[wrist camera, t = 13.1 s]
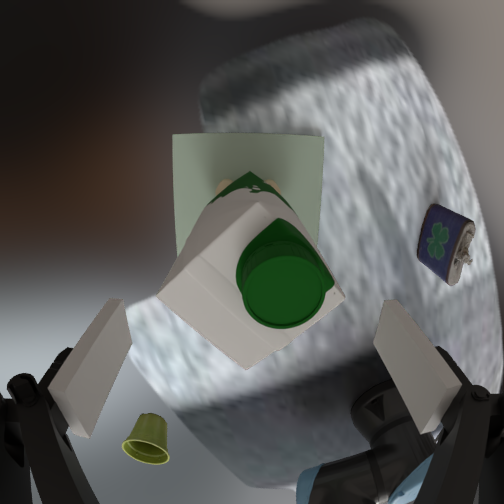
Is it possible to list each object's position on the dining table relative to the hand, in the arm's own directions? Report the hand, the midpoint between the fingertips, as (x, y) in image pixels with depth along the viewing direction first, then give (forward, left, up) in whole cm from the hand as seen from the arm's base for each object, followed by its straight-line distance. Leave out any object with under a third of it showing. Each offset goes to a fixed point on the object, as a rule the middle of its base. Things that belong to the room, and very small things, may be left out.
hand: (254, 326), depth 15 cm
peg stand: (0, 0, -26) cm, 26 cm away
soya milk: (0, 0, -20) cm, 20 cm away
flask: (-27, +3, -26) cm, 37 cm away
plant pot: (+19, +44, -26) cm, 54 cm away
